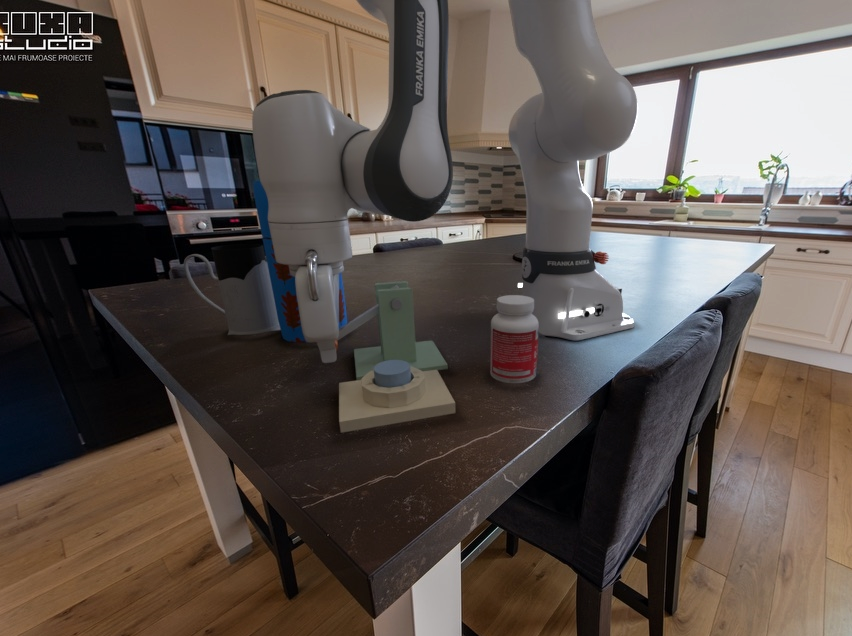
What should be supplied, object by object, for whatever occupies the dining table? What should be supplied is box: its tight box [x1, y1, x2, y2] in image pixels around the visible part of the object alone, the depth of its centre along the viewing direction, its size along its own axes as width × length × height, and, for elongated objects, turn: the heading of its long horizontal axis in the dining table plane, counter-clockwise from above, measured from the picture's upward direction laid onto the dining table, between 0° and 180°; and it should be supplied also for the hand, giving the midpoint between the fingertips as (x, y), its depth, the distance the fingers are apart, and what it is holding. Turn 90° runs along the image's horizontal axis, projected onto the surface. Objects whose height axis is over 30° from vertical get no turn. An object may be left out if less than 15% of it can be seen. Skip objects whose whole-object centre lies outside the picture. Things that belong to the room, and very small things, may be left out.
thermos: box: [252, 180, 348, 344], centre depth 64 cm, size 11×11×25 cm
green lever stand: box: [353, 280, 449, 381], centre depth 55 cm, size 12×10×12 cm
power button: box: [374, 360, 411, 388], centre depth 44 cm, size 4×4×2 cm
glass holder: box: [183, 243, 281, 336], centre depth 68 cm, size 9×14×15 cm, turn 89°
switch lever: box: [335, 285, 399, 352], centre depth 53 cm, size 12×6×2 cm, turn 108°
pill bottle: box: [489, 294, 539, 384], centre depth 51 cm, size 6×6×11 cm
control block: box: [338, 366, 456, 434], centre depth 45 cm, size 12×9×4 cm
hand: (330, 349), depth 53 cm, fingers closed on switch lever, 6 cm apart
